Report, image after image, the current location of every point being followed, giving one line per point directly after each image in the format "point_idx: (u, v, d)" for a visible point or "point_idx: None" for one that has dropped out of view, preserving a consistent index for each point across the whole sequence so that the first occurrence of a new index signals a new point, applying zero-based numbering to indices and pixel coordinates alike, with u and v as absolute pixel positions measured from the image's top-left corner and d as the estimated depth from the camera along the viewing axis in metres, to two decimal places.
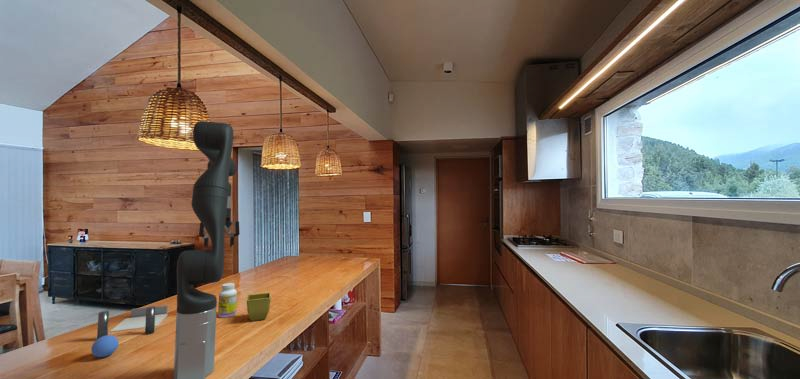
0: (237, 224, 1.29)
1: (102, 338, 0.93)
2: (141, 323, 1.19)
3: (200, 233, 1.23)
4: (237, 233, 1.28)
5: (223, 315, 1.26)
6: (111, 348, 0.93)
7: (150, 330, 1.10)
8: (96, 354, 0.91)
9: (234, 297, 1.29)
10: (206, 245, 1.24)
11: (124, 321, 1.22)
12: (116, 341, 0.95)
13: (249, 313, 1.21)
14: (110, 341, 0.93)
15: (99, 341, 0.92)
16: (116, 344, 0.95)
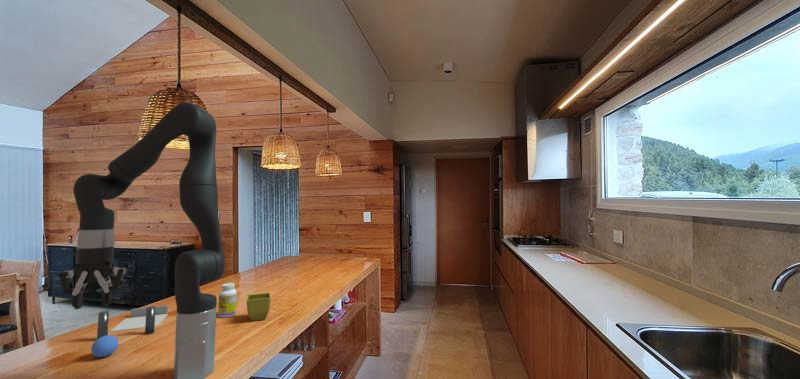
0: (120, 273, 0.88)
1: (102, 338, 0.93)
2: (141, 323, 1.19)
3: (65, 289, 0.83)
4: (115, 286, 0.87)
5: (223, 315, 1.26)
6: (111, 348, 0.93)
7: (150, 330, 1.10)
8: (96, 354, 0.91)
9: (234, 297, 1.29)
10: (76, 306, 0.84)
11: (124, 321, 1.22)
12: (116, 341, 0.95)
13: (249, 313, 1.21)
14: (110, 341, 0.93)
15: (99, 341, 0.92)
16: (116, 344, 0.95)
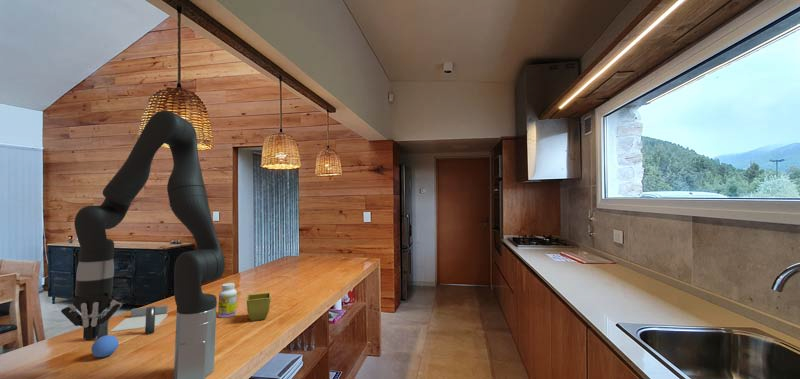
0: (114, 309, 0.87)
1: (102, 338, 0.93)
2: (141, 323, 1.19)
3: (75, 322, 0.84)
4: (103, 320, 0.86)
5: (223, 315, 1.26)
6: (111, 348, 0.93)
7: (150, 330, 1.10)
8: (96, 354, 0.91)
9: (234, 297, 1.29)
10: (86, 338, 0.85)
11: (124, 321, 1.22)
12: (116, 341, 0.95)
13: (249, 313, 1.21)
14: (110, 341, 0.93)
15: (99, 341, 0.92)
16: (116, 344, 0.95)
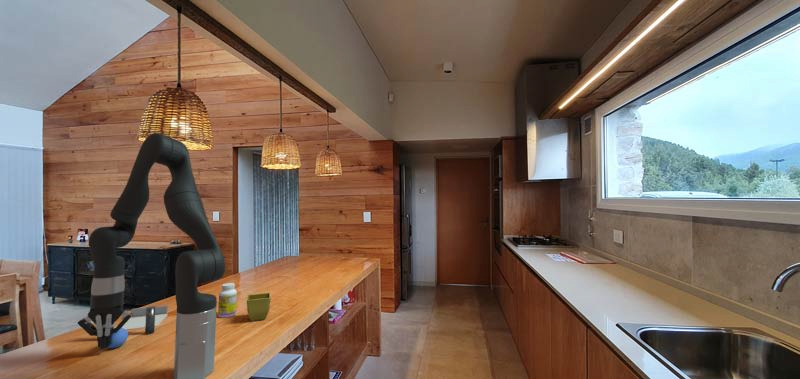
0: (126, 319, 0.97)
1: None
2: (141, 323, 1.19)
3: (90, 332, 0.93)
4: (115, 330, 0.96)
5: (223, 315, 1.26)
6: (125, 330, 1.01)
7: (150, 330, 1.10)
8: None
9: (234, 297, 1.29)
10: (100, 346, 0.94)
11: None
12: None
13: (249, 313, 1.21)
14: None
15: None
16: (127, 334, 1.01)
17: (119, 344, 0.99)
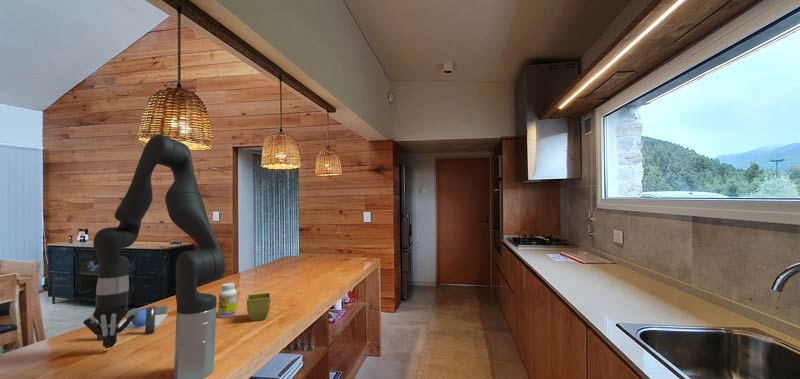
0: (130, 319, 0.98)
1: None
2: None
3: (95, 331, 0.95)
4: (120, 329, 0.97)
5: (223, 315, 1.26)
6: None
7: (150, 330, 1.10)
8: (137, 312, 1.17)
9: (234, 297, 1.29)
10: (106, 345, 0.96)
11: (124, 321, 1.22)
12: None
13: (249, 313, 1.21)
14: None
15: None
16: None
17: (145, 323, 1.16)
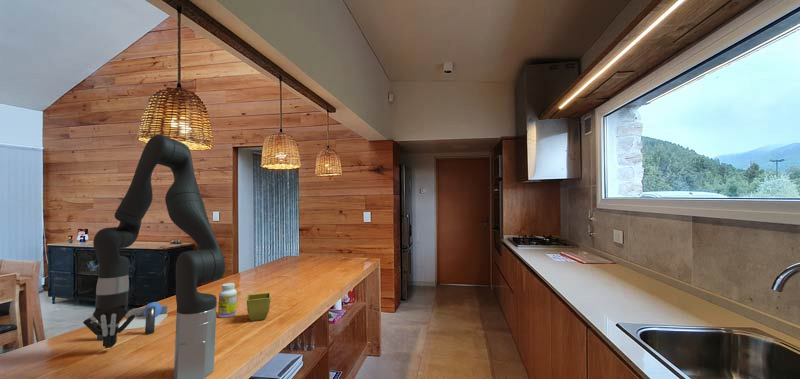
0: (130, 319, 0.98)
1: None
2: (141, 323, 1.19)
3: (95, 331, 0.95)
4: (120, 329, 0.97)
5: (223, 315, 1.26)
6: (158, 314, 1.27)
7: (150, 330, 1.10)
8: None
9: (234, 297, 1.29)
10: (106, 345, 0.96)
11: (124, 321, 1.22)
12: (159, 309, 1.27)
13: (249, 313, 1.21)
14: (155, 312, 1.25)
15: None
16: (160, 310, 1.28)
17: None
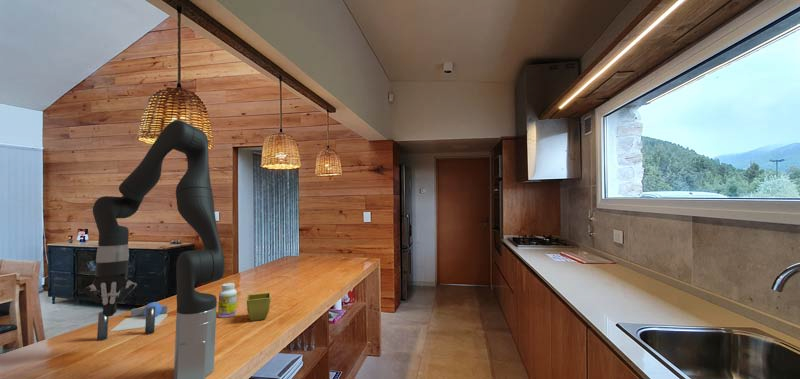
0: (130, 288, 0.98)
1: None
2: (141, 323, 1.19)
3: (95, 300, 0.95)
4: (120, 298, 0.97)
5: (223, 315, 1.26)
6: (158, 314, 1.27)
7: (150, 330, 1.10)
8: None
9: (234, 297, 1.29)
10: (106, 314, 0.95)
11: (124, 321, 1.22)
12: (159, 309, 1.27)
13: (249, 313, 1.21)
14: (155, 312, 1.25)
15: None
16: (160, 310, 1.28)
17: None
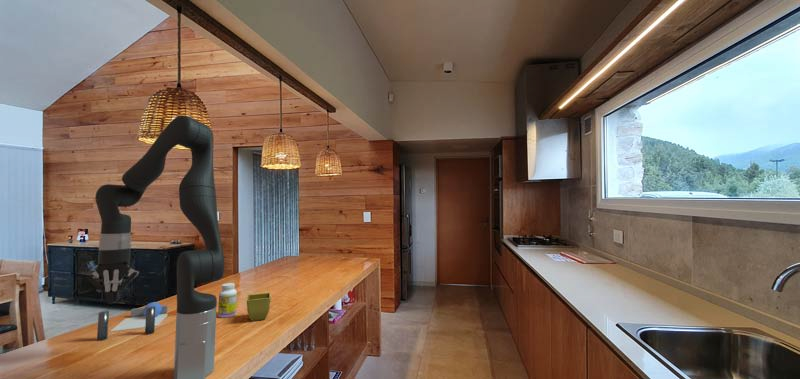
0: (132, 276, 0.99)
1: None
2: (141, 323, 1.19)
3: (98, 287, 0.95)
4: (122, 286, 0.98)
5: (223, 315, 1.26)
6: (158, 314, 1.27)
7: (150, 330, 1.10)
8: None
9: (234, 297, 1.29)
10: (108, 301, 0.96)
11: (124, 321, 1.22)
12: (159, 309, 1.27)
13: (249, 313, 1.21)
14: (155, 312, 1.25)
15: None
16: (160, 310, 1.28)
17: None
